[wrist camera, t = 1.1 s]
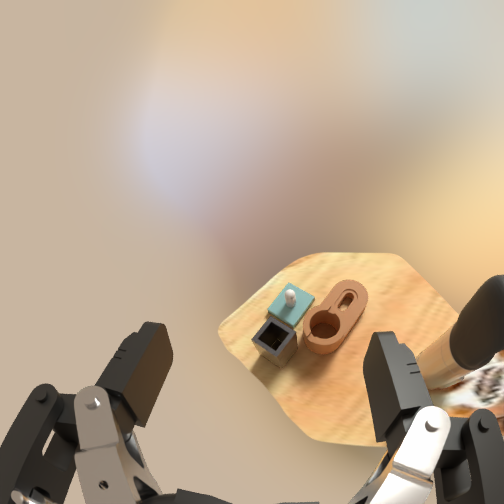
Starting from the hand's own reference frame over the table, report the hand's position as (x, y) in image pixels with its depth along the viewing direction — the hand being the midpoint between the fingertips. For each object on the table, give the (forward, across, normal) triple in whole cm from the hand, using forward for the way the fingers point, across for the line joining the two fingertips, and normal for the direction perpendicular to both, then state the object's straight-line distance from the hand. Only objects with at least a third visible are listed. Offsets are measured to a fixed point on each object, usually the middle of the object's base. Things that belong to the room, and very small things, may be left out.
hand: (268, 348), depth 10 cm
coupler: (+33, 0, -34) cm, 47 cm away
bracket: (+39, +13, -30) cm, 50 cm away
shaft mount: (+42, +3, -29) cm, 51 cm away
